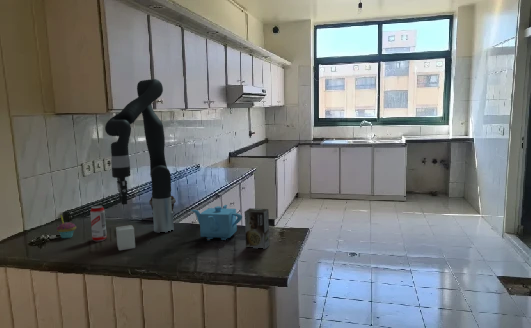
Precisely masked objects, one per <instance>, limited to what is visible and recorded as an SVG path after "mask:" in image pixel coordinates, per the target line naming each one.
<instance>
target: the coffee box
mask: <svg viewBox="0 0 531 328" xmlns="http://www.w3.org/2000/svg"><path fill="white" fill-rule="evenodd" d="M269 217H270V215H269V208H254V207H253V208H251V207H249V208H247V210H245V211H244V226H245V231H244V232H245V248H246V247H253V248H252V249H258V248H263V249H262V250H265V249H267V248H268V247H269V246H270V219H269Z"/></svg>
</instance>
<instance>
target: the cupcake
mask: <svg viewBox="0 0 531 328" xmlns="http://www.w3.org/2000/svg"><path fill="white" fill-rule="evenodd" d="M60 218H61V223H60V224H59V225H58V226H56V232H58V233H59V235H60V238H61V239H70V238H72V237H73V235H74V232H75V231H76V230H77V225H76V224H75V223H73V222H64V217H63V215H62V213H60Z"/></svg>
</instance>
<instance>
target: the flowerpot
mask: <svg viewBox="0 0 531 328" xmlns="http://www.w3.org/2000/svg"><path fill="white" fill-rule="evenodd" d="M171 191H172V188H171ZM148 202H149V205H150V206H151V207H150V208H151V210H152V211H153V204H152V196H151V197H150V199H149V201H148ZM175 203H176V198H175V197H174V196H173V195H171V206H172V212H173V215H174V213H175V212H174V207H175ZM152 215H153V212H152Z"/></svg>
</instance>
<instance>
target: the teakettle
mask: <svg viewBox="0 0 531 328" xmlns="http://www.w3.org/2000/svg"><path fill="white" fill-rule="evenodd" d="M190 211H191V212H193V213H194V214H195V215H196V219H197V223H198V224H199V228H200V238H201V237H202V238H206V239H214V238H220V241H221V240H226V239H227V240H228V239H230V238H231V237H232V236H233V235H234V234H235V233H236V232H237V231H238V226H237V225H238V224H239V223H240V222H241V220H242V219H243V216H242V214H240V213H237V209H236V208H228V204H224V205H223V206H220V205H219V206H218V205H217V206H214V207H211V208H210V207H209V208H208V207H207V209H205V210H203V211H202V212H200V211H199V210H197V209H191V210H190Z"/></svg>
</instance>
